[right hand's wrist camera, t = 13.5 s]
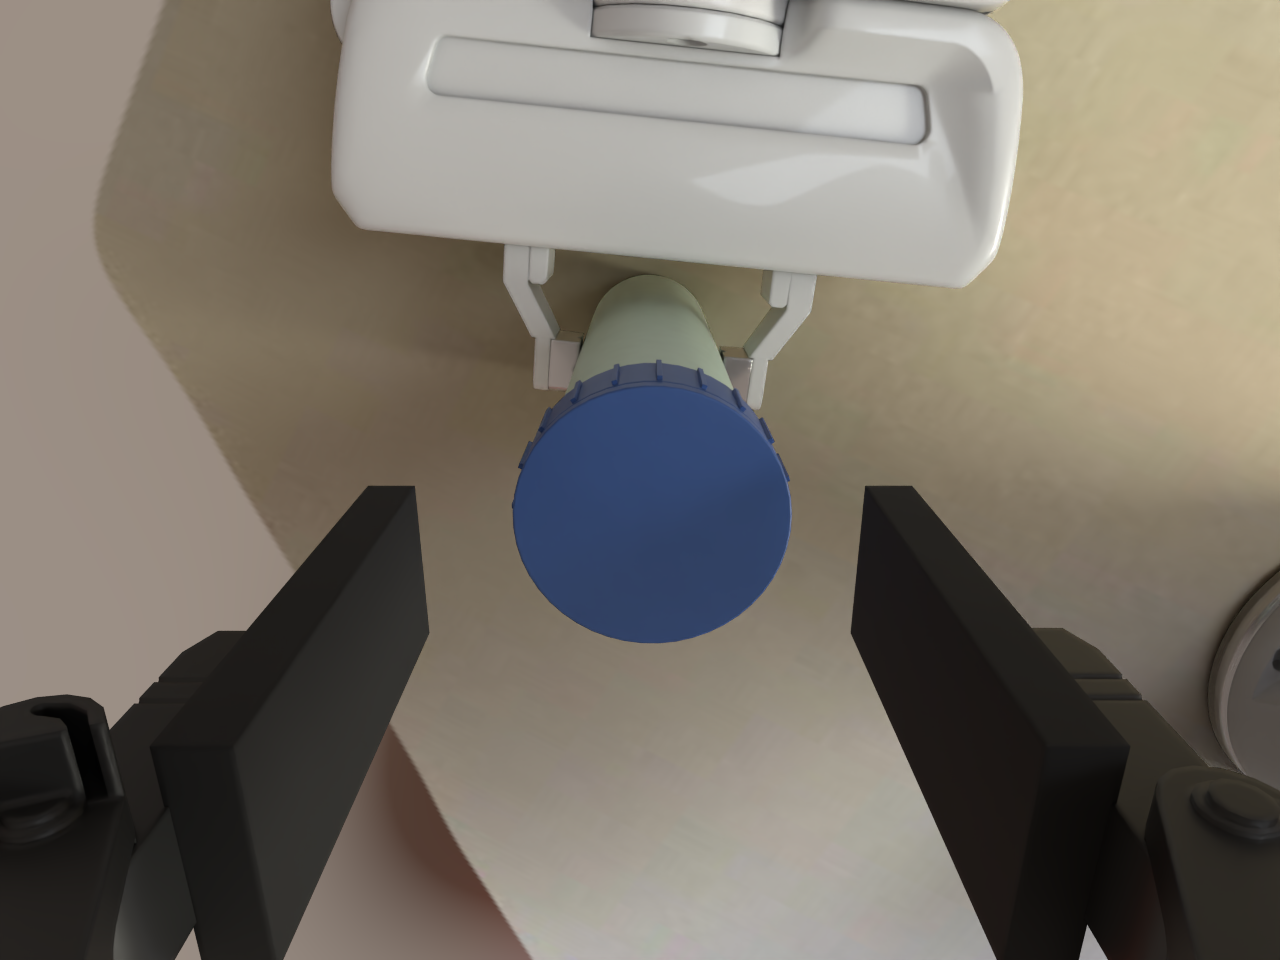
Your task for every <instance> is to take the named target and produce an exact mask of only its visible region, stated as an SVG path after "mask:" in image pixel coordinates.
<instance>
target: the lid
mask: <svg viewBox="0 0 1280 960" xmlns="http://www.w3.org/2000/svg"><path fill="white" fill-rule="evenodd" d="M774 442H775V441H774V439H773V437H772V435H771V433H770V431H769V429H768V427H767V425H766V422H765V420H764V419H763V418H760V419H759V418H758V417H757V416H756V414H755V413H754V412H753V410H752V409H751V407H750V406H749V405H748V404H747V403H746V402H745V401H744V400H743V399H742V397H741V395H740V393H739V390H737V389H736V388H734V389H733V390H731V389H730V388H729V387H727V386H726V385H725V384H723V383H721V382H720V381H718V380H716V379H714V378H713V377H711V376H709V375H706V374H704V371H703V369H701V368H698V369H697V370H694V369H690V368H687V367H683V366H679V365H672V364H665V363H662V360H656V363H639V364H631V365H625V366H621V367H620V365H619V364H615V365H614V368H613V369H610V370H607V371H605V372H602V373H600V374H597V375H595V376H593V377H591V378H589V379H588V380H586V381H584V382H581V380H579V381H577V382H576V384H575V387H574V389H572V390H571V391H570V392H568V393H567V394H566V395H565V396H564V397H563V398H562V399H561V400H560V401H559V402H558V403H557V404H556V405H555V406H554V407H553V409H551V408H550V407H548V409H547V410H546V412H545V414H544V417H543V419H542V422H541V424H540V426H539V429H538V431H537V433H536V436H535V438H534V441H533V442H530V441H529V442H528V445H527V447H526V449H525V452H524V454H523V456H522V459H521V461H520V463H519V466H518V468H520V469H522V470H521V473H520V475H519V478H518V482H517V486H516V490H515V494H514V500H513V502H512V508H513V528H514V534H515V539H516V544H517V547H518V550H519V553H520V556H521V559H522V562H523V564H524V566H525V568H526V570H527V572H528V574H529V576H530V577H531V579H532V580H533V582H534V583H535V585H536V586H537V588H538V589H539V590H540V591H541V593H542V594H543V595H544V596H545V597H546V598H547V599H548V600H549V602H550V603H551V604H553V605H554V606H555V607H556V608H557V609H558V610H559V611H561V612H562V613H563V614H564V615H566V616H567V617H569V618H570V619H572V620H573V621H575V622H576V623H578V624H580V625H582V626H584V627H586V628H588V629H589V630H591V631H594V632H597V633H599V634H602V635H605V636H607V637H611V638H615V639H619V640H623V641H630V642H638V643H666V642H675V641H680V640H685V639H689V638H693V637H696V636H699V635H702V634H705V633H708V632H710V631H712V630H714V629H716V628H718V627H720V626H723V625H725V624H726V623H728V622H729V621H731V620H732V619H734V618H735V617H737V616H739V615H740V614H741V613H742V612H743V611H745V610H746V609H747V608H748V607H749V606H751V605H752V604H753V603H754V602H755V600H756V599H757V598H758V597H759V596H760V595H761V594H762V593H763V592H764V590H765V589H766V588H767V586H768V585H769V583H770V582H771V581H772V579H773V578H774V576H775V574H776V572H777V570H778V568H779V567H780V565H781V563H782V560H783V557H784V554H785V552H786V549H787V545H788V541H789V536H790V532H791V520H792V508H791V496H790V491H789V487H788V481H790V479H789V476H788V473H787V471H786V469H785V467H784V465H783V463H782V460H781V458H780V456H779V454H778V453H777V454H776V452H775V450H774V448H773V445H772V443H774Z"/></svg>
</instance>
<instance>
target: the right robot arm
mask: <svg viewBox="0 0 1280 960" xmlns="http://www.w3.org/2000/svg"><path fill="white" fill-rule="evenodd" d="M428 635H429V625H428V615H427V604H426V594H425V584H424V574H423V564H422V554H421V544H420V534H419V524H418V514H417V504H416V493H415V486H368V487H367V488H366V489H365V490H364V491H363V492H362V494H361V495H360V496H359V497H358V498H357V500H356V501H355V502H354V503H353V504H352V506H351V507H350V508H349V509H348V510H347V512H346V513H345V514H344V515H343V516H342V517H341V519H340V520H339V521H338V522H337V523H336V525H335V526H334V527H333V528H332V529H331V531H330V532H329V533H328V534H327V535H326V537H325V538H324V539H323V540H322V541H321V543H320V544H319V545H318V546H317V547H316V548H315V550H314V551H313V552H312V553H311V554H310V556H309V557H308V558H307V559H306V560H305V562H304V563H303V564H302V565H301V566H300V568H299V569H298V570H297V571H296V572H295V573H294V575H293V576H292V577H291V578H290V580H289V581H288V582H287V583H286V584H285V585H284V587H283V588H282V589H281V590H280V591H279V593H278V594H277V595H276V596H275V597H274V598H273V600H272V601H271V602H270V603H269V604H268V606H267V607H266V608H265V609H264V610H263V612H262V613H261V614H260V615H259V616H258V618H257V619H256V620H255V621H254V622H253V623H252V625H251V626H250V627H249V628H248V630H247V631H217V632H215V633H214V634H212V635H210V636H209V637H207V638H205V639H204V640H202V641H200V642H199V643H197V644H195V645H194V646H192V647H190V648H189V649H187V650H185V651H184V652H182V653H181V654H180V655H179V656H178V657H177V658H176V659H175V661H174V662H173V663H172V664H171V665H170V666H169V667H168V668H167V669H166V670H165V671H164V672H163V673H162V674H161V676H160V677H159V681H158V682H154V683H153V684H152V685H151V686H150V687H149V688H148V689H147V691H146V692H145V693H144V694H143V695H142V696H141V697H140V698H139V703H138V704H134V705H133V706H132V707H131V708H130V709H129V710H128V711H127V712H126V713H125V714H124V715H123V716H122V717H121V718H120V719H119V721H118V722H117V723H116V724H115V725H114V726H113V727H112V728H111V729H110V730H109V727H108V723H107V719H106V715H105V712H104V708H103V707H102V706H101V705H99V704H98V703H97V702H95V701H94V700H92V699H91V698H87V697H81V696H74V695H56V696H46V697H36V698H32V699H29V700H25V701H21V702H17V703H14V704H10V705H6V706H3V707H0V960H175V958H176V956H177V955H178V953H179V951H180V950H181V948H182V946H183V944H184V943H185V941H186V939H187V938H188V936H189V934H190V932H191V931H192V929H193V927H194V932H195V936H196V940H197V944H198V948H199V952H200V956H201V960H283V959H284V957H285V954H286V952H287V950H288V948H289V945H290V943H291V941H292V939H293V936H294V934H295V932H296V930H297V928H298V925H299V923H300V921H301V918H302V916H303V914H304V912H305V910H306V907H307V905H308V903H309V901H310V899H311V896H312V894H313V892H314V890H315V887H316V885H317V883H318V881H319V878H320V876H321V874H322V872H323V869H324V867H325V865H326V863H327V861H328V858H329V856H330V854H331V852H332V849H333V847H334V845H335V843H336V840H337V838H338V836H339V834H340V831H341V829H342V827H343V825H344V822H345V820H346V818H347V816H348V814H349V811H350V809H351V807H352V805H353V802H354V800H355V798H356V796H357V793H358V791H359V789H360V787H361V785H362V782H363V780H364V778H365V776H366V773H367V771H368V769H369V767H370V764H371V762H372V760H373V758H374V755H375V753H376V751H377V749H378V747H379V744H380V742H381V740H382V738H383V735H384V733H385V731H386V729H387V726H388V724H389V722H390V720H391V717H392V715H393V713H394V711H395V709H396V706H397V704H398V702H399V700H400V697H401V695H402V693H403V691H404V688H405V686H406V684H407V682H408V679H409V677H410V675H411V673H412V671H413V668H414V666H415V664H416V662H417V659H418V657H419V655H420V653H421V650H422V648H423V646H424V644H425V641H426V639H427V637H428ZM851 635H852V637H853V639H854V641H855V644H856V646H857V648H858V650H859V653H860V655H861V657H862V659H863V662H864V664H865V666H866V668H867V671H868V673H869V675H870V677H871V679H872V682H873V684H874V686H875V688H876V691H877V693H878V695H879V697H880V700H881V702H882V704H883V706H884V709H885V711H886V713H887V715H888V717H889V720H890V722H891V724H892V726H893V729H894V731H895V733H896V735H897V738H898V740H899V742H900V744H901V747H902V749H903V751H904V753H905V755H906V758H907V760H908V762H909V764H910V767H911V769H912V771H913V773H914V776H915V778H916V780H917V782H918V785H919V787H920V789H921V791H922V793H923V796H924V798H925V800H926V802H927V805H928V807H929V809H930V811H931V814H932V816H933V818H934V820H935V823H936V825H937V827H938V829H939V831H940V834H941V836H942V838H943V840H944V843H945V845H946V847H947V849H948V852H949V854H950V856H951V858H952V861H953V863H954V865H955V867H956V869H957V872H958V874H959V876H960V878H961V881H962V883H963V885H964V887H965V890H966V892H967V894H968V896H969V899H970V901H971V903H972V905H973V907H974V910H975V912H976V914H977V916H978V919H979V921H980V923H981V925H982V928H983V930H984V932H985V934H986V937H987V939H988V941H989V943H990V945H991V948H992V950H993V952H994V954H995V957H996V959H997V960H1079V956H1080V952H1081V948H1082V944H1083V940H1084V936H1085V932H1086V927H1087V925H1088V926H1089V928H1090V930H1091V931H1092V933H1093V935H1094V937H1095V938H1096V940H1097V942H1098V943H1099V945H1100V947H1101V949H1102V950H1103V952H1104V954H1105V955H1106V957H1107V959H1108V960H1280V571H1279V572H1277V573H1276V574H1275V575H1274V576H1273V577H1272V578H1271V579H1269V580H1268V581H1267V582H1266V583H1265V584H1264V585H1263V586H1262V587H1261V588H1260V589H1259V590H1258V591H1257V592H1256V593H1255V594H1254V595H1253V596H1252V597H1251V598H1250V599H1249V601H1248V602H1247V603H1246V604H1245V606H1244V607H1243V608H1242V609H1241V610H1240V612H1239V613H1238V615H1237V616H1236V618H1235V619H1234V621H1233V622H1232V623H1231V625H1230V627H1229V628H1228V630H1227V632H1226V634H1225V636H1224V637H1223V639H1222V642H1221V644H1220V646H1219V648H1218V651H1217V653H1216V656H1215V659H1214V662H1213V665H1212V669H1211V674H1210V678H1209V686H1208V710H1209V716H1210V721H1211V725H1212V728H1213V731H1214V734H1215V736H1216V738H1217V741H1218V743H1219V744H1220V746H1221V748H1222V749H1223V751H1224V753H1225V754H1226V755H1227V756H1228V758H1229V759H1230V760H1231V761H1232V762H1233V763H1234V764H1235V765H1236V766H1237V767H1238V768H1239V769H1240V770H1241V772H1242V773H1243V774H1244V775H1243V774H1239V773H1236V772H1233V771H1229V770H1226V769H1223V768H1214V767H1209V766H1208V765H1207V764H1206V763H1205V762H1204V761H1203V760H1202V759H1201V758H1200V757H1199V756H1198V755H1197V754H1196V753H1195V752H1194V750H1193V749H1192V748H1191V747H1190V746H1189V745H1188V744H1187V743H1186V742H1185V741H1184V740H1183V739H1182V738H1181V737H1180V736H1179V735H1178V733H1177V732H1176V731H1175V730H1174V729H1173V728H1172V727H1171V726H1170V725H1169V724H1168V723H1167V722H1166V721H1165V720H1164V719H1163V718H1162V716H1161V715H1160V714H1159V713H1158V712H1157V711H1156V710H1155V709H1154V708H1153V707H1152V706H1151V705H1150V704H1149V703H1148V702H1147V701H1142V698H1141V694H1140V693H1139V692H1138V691H1137V690H1136V689H1135V688H1134V687H1133V686H1132V685H1131V684H1130V682H1129V681H1128V680H1127V679H1122V674H1121V673H1120V672H1119V671H1118V670H1117V669H1116V668H1115V666H1114V665H1113V664H1112V663H1111V662H1110V661H1109V660H1108V659H1107V658H1106V657H1105V656H1104V655H1103V654H1102V653H1101V652H1100V651H1099V649H1097V648H1095V647H1094V646H1092V645H1090V644H1088V643H1087V642H1085V641H1083V640H1082V639H1080V638H1078V637H1077V636H1075V635H1073V634H1072V633H1070V632H1068V631H1067V630H1065V629H1063V628H1031V627H1030V626H1029V625H1028V623H1027V622H1026V621H1025V620H1024V619H1023V618H1022V616H1021V615H1020V614H1019V613H1018V612H1017V610H1016V609H1015V608H1014V607H1013V606H1012V604H1011V603H1010V602H1009V601H1008V600H1007V598H1006V597H1005V596H1004V595H1003V594H1002V593H1001V591H1000V590H999V589H998V588H997V587H996V585H995V584H994V583H993V582H992V581H991V579H990V578H989V577H988V576H987V575H986V573H985V572H984V571H983V570H982V569H981V568H980V566H979V565H978V564H977V563H976V562H975V560H974V559H973V558H972V557H971V556H970V554H969V553H968V552H967V551H966V550H965V548H964V547H963V546H962V545H961V544H960V543H959V541H958V540H957V539H956V538H955V537H954V535H953V534H952V533H951V532H950V531H949V529H948V528H947V527H946V526H945V525H944V523H943V522H942V521H941V520H940V519H939V517H938V516H937V515H936V514H935V513H934V512H933V510H932V509H931V508H930V507H929V506H928V504H927V503H926V502H925V501H924V500H923V498H922V497H921V496H920V495H919V494H918V492H917V491H916V490H915V489H914V488H913V487H912V486H865V493H864V504H863V514H862V524H861V534H860V544H859V554H858V564H857V574H856V584H855V594H854V604H853V615H852V625H851Z"/></svg>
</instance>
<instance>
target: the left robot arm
mask: <svg viewBox="0 0 1280 960" xmlns="http://www.w3.org/2000/svg"><path fill="white" fill-rule="evenodd" d="M1008 1H1009V0H330V5H331V16H332V21H333V25H334V29H335V32H336V34H337V36H338V38H339V40H340V42H341V44H342V49H341V55H340V63H339V70H338V77H337V86H336V95H335V105H334V118H333V133H332V156H331V183H332V191H333V194H334V196H335V198H336V200H337V201H338V202H339V204H340V205H341V207H342V208H343V209H344V211H345V212H346V213H347V215H348V216H349V218H350V219H351V220H352V221H353V223H354V224H355V225H356V226H357V227H359V228H361V229H364V230H372V231H381V232H391V233H401V234H411V235H421V236H431V237H441V238H451V239H461V240H472V241H482V242H492V243H502V244H504V266H503V282H504V284H505V286H506V288H507V290H508V292H509V294H510V296H511V298H512V300H513V302H514V304H515V306H516V308H517V310H518V312H519V314H520V316H521V318H522V320H523V322H524V323H525V325H526V327H527V329H528V331H529V333H530V335H531V337H535V352H534V371H533V387H534V389H541V390H554V391H567V388H568V385H569V382H570V380H571V377H572V374H573V371H574V368H575V366H576V363H577V360H578V357H579V354H580V351H581V349H582V346H583V335H584V333H581V332H572V331H564V330H560V327H559V325H558V323H557V321H556V319H555V316H554V314H553V312H552V310H551V308H550V306H549V304H548V301H547V299H546V297H545V295H544V293H543V291H542V289H541V286H540V284H544V283H545V282H546V281H547V280H548V279H549V278H550V277H551V276H552V275H553V274H554V261H555V249H562V250H572V251H582V252H592V253H602V254H612V255H622V256H632V257H642V258H652V259H662V260H672V261H682V262H692V263H702V264H712V265H722V266H732V267H743V268H753V269H763V278H762V286H761V296H762V297H763V298H764V299H765V300H766V301H767V302H768V303H769V304H770V306H771V307H772V308H771V309H770V310H769V312H768V313H767V314H766V316H765V317H764V318H763V320H762V321H761V323H760V324H759V325H758V327H757V328H756V329H755V331H754V332H753V333H752V335H751V336H750V337H749V339H748V340H747V342H746V343H745V344H744V346H743V347H744V348H739V347H726V346H720V347H719V354H720V356H721V359H722V361H723V364H724V366H725V369H726V371H727V374H728V376H729V379H730V381H731V384H732V386H733V389H734V388H736V389H737V390H739V393H740V395H741V397H742V399H743V400H744V401H745V402H746V403H747V404H748V405H749V406H750V407H751V409H752V410H759V409H760V407H761V404H762V399H763V392H764V386H765V379H766V373H767V366H768V360H773V359H774V357H775V356H776V355H777V354H778V352H779V351H780V350H781V349H782V347H783V346H784V345H785V344H786V342H787V341H788V340H789V339H790V337H791V336H792V335H793V334H794V333H795V331H796V330H797V329H798V328H799V326H800V325H801V324H802V323H803V321H804V320H805V319H806V318H807V316H808V315H809V314H810V313H811V309H812V303H813V297H814V291H815V285H816V279H817V275H823V276H833V277H843V278H853V279H863V280H873V281H883V282H893V283H903V284H913V285H923V286H933V287H944V288H954V289H959V288H963V287H965V286H967V285H968V284H969V283H970V282H972V281H973V280H974V279H975V278H976V277H977V276H978V275H979V274H980V273H981V272H982V271H983V270H984V269H985V268H986V267H987V266H988V265H989V264H990V263H991V262H992V261H993V260H994V258H995V257H996V254H997V252H998V249H999V246H1000V243H1001V239H1002V235H1003V231H1004V227H1005V222H1006V218H1007V213H1008V208H1009V202H1010V197H1011V192H1012V186H1013V179H1014V173H1015V167H1016V159H1017V152H1018V144H1019V135H1020V125H1021V114H1022V103H1023V76H1022V67H1021V62H1020V58H1019V54H1018V51H1017V49H1016V46H1015V44H1014V42H1013V41H1012V39H1011V37H1010V35H1009V34H1008V33H1007V32H1006V30H1005V29H1004V28H1003V27H1002V26H1001V25H1000V24H999V23H997V22H996V21H995V20H993V19H992V18H990V17H988V16H987V15H988V14H990V13H992V12H993V11H995V10H997V9H998V8H1000V7H1001V6H1003V5H1004V4H1005V3H1007V2H1008Z"/></svg>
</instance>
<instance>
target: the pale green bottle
mask: <svg viewBox="0 0 1280 960" xmlns="http://www.w3.org/2000/svg"><path fill="white" fill-rule="evenodd" d="M656 360H662V363H665V364H672V365H679V366H683V367H687V368H690V369H694V370H697V369H698V368H701V369H703V371H704V374H706V375H709V376H711V377H713V378H714V379H716V380H718V381H720V382H721V383H723V384H725V385H726V386H727V387H729V388H730V389H731V390H733V386H732V384H731V381H730V379H729V376H728V374H727V371H726V369H725V366H724V364H723V361H722V359H721V356H720V354H719V351H718V349H717V346H716V344H715V341H714V339H713V336H712V334H711V331H710V329H709V326H708V324H707V321H706V319H705V316H704V314H703V311H702V309H701V307H700V305H699V303H698V301H697V300H696V299H695V297H694V296H693V295H692V294H691V293H690V292H689V291H688V290H687V289H686V288H685V287H684V286H682V285H681V284H679V283H678V282H676V281H674V280H671V279H669V278H666V277H663V276H657V275H640V276H635V277H631V278H629V279H626V280H624V281H622V282H620V283H618V284H617V285H615V286H614V287H613V288H611V289H610V290H609V291H608V292H607V293H606V294H605V295H604V297H603V298H602V299H601V301H600V302H599V304H598V306H597V307H596V310H595V312H594V315H593V318H592V321H591V323H590V326H589V329H588V332H587V335H586V337H585V340H584V343H583V346H582V349H581V351H580V354H579V357H578V360H577V363H576V366H575V368H574V371H573V374H572V377H571V380H570V382H569V385H568V388H567V391H566V394H567V393H568V392H570V391H571V390H572V389H574V387H575V384H576V382H577V381H579V380H581V382H584V381H586V380H588V379H589V378H591V377H593V376H595V375H597V374H600V373H602V372H605V371H607V370H610V369H613V368H614V365H615V364H619V365H620V367H621V366H625V365H631V364H639V363H656ZM566 394H565V395H566Z"/></svg>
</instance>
